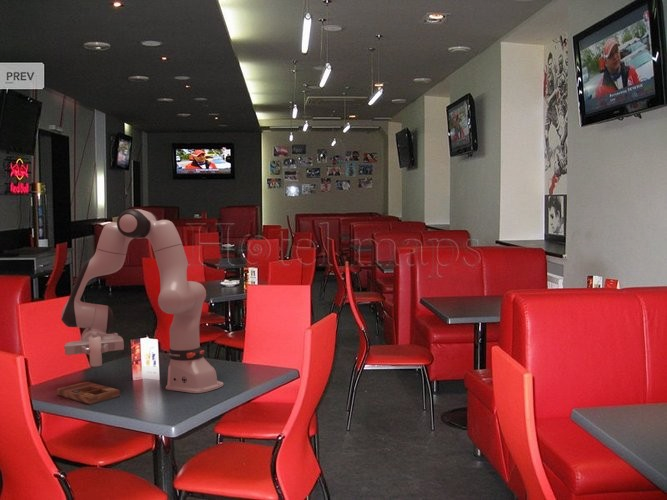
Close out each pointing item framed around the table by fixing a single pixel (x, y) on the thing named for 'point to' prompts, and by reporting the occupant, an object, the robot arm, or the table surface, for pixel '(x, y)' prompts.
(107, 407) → the table surface
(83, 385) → the board
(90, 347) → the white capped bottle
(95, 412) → the table surface
